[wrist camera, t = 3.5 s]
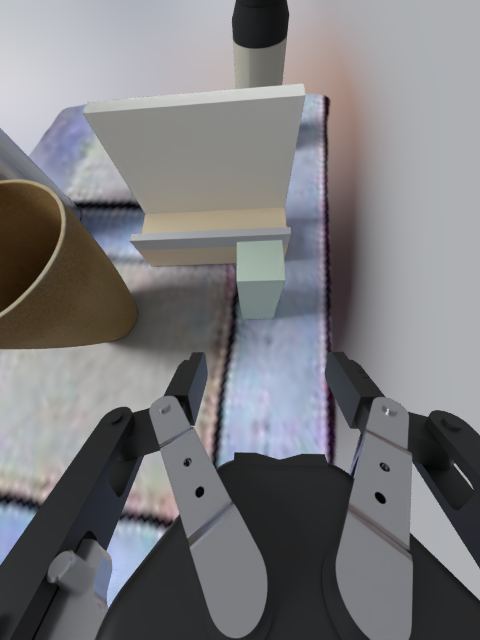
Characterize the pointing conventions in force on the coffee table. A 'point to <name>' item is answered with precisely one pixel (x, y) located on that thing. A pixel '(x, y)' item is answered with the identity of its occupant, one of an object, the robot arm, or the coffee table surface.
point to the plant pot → (55, 275)
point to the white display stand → (204, 167)
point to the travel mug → (259, 42)
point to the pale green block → (260, 277)
